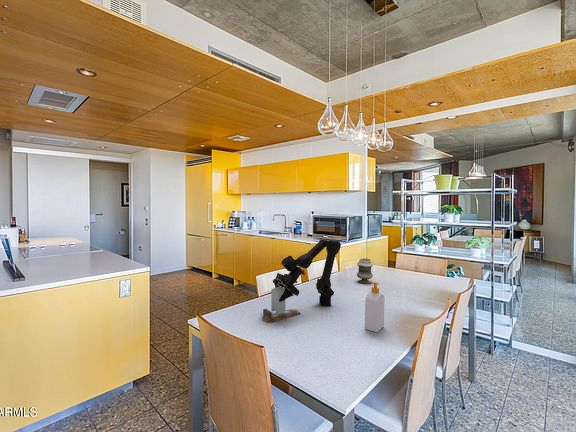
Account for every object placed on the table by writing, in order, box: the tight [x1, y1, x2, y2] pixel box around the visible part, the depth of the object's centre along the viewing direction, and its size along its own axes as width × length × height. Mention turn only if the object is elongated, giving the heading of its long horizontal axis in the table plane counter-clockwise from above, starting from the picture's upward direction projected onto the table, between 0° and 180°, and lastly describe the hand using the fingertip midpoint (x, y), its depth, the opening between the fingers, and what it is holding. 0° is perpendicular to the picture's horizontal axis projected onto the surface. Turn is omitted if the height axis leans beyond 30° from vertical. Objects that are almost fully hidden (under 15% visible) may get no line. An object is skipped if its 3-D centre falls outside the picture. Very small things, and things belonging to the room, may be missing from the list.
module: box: [270, 287, 286, 314], centre depth 153 cm, size 5×6×12 cm
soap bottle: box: [364, 280, 385, 333], centre depth 142 cm, size 9×7×23 cm
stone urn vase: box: [356, 257, 374, 285], centre depth 222 cm, size 12×12×18 cm
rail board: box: [262, 307, 302, 323], centre depth 155 cm, size 20×7×5 cm, turn 126°
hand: (276, 299), depth 152 cm, fingers closed on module, 6 cm apart
